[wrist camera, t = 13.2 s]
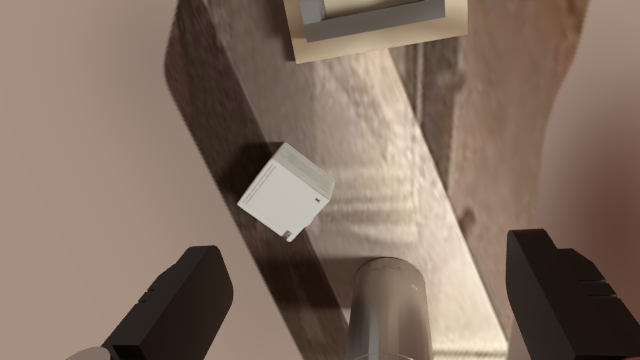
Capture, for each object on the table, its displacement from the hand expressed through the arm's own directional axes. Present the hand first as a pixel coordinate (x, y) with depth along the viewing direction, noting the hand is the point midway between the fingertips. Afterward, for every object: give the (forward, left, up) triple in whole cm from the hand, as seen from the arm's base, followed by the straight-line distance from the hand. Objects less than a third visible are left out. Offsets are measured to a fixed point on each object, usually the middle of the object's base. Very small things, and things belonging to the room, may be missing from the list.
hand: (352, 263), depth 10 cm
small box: (-12, +12, -30) cm, 35 cm away
